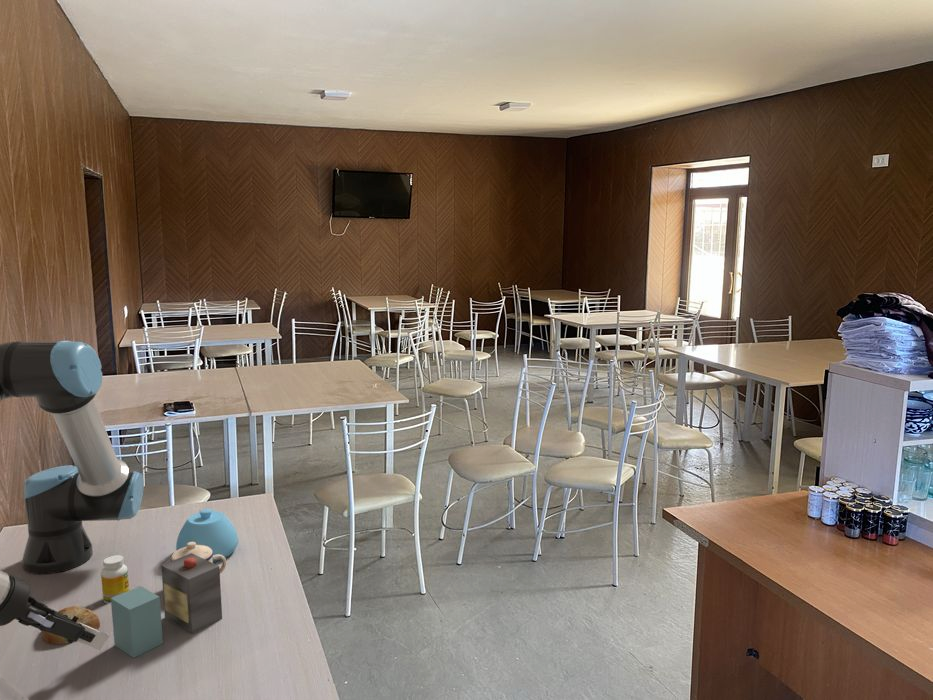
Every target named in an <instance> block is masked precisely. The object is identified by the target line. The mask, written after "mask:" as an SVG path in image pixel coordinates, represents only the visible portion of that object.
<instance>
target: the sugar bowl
mask: <svg viewBox="0 0 933 700" xmlns="http://www.w3.org/2000/svg"><path fill="white" fill-rule="evenodd" d="M189 542H195V543H196V545H204V546H208V547H209V548H211V549H212V551H213V555H217V554H220V555H223V556H224V557H225V559H226V558H228V557H230V556H231V555H232V553H234V551H235V550H236V549H237V548H238V546H239V545H238V544H239V537H238V533H237V529H236V528H235V526H234V524H233V523H232V522H231V520H230V519H229V518H228V516H227V515H225V514H224V513H223V512H221V511H217V510H212V509H211V508H203V509H201V510H199V512H196V513H193V514H192V515H190V516H189V517H188V518H187V519H186V520H185V523H184V524H183V526H182V527H181V529H180V530H179V533H178V536H177V540H176V545H175V548H176V549H175V551H177V550H179V549H181V548H183V547H186V546H187V543H189ZM227 556H228V557H227ZM221 560H222V559H220V558H218V559H214V560H212V561H213V563H216V562H219V561H221ZM222 561H223V560H222Z"/></svg>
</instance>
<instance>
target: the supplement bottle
mask: <svg viewBox="0 0 933 700" xmlns="http://www.w3.org/2000/svg"><path fill="white" fill-rule="evenodd" d="M124 561H125V560H124V556H122V555H119V554H118V555H112V556H108V557H106V558H105V559H104V560H103V569H102V570H101V573H100V578H101V588H102V589H101V590H102V599H103V602H104V603H105V604H107V605H108V604H111V598H112V597H115V596H117V595H120V594H122V593H125V592H127V591H129V590H130V584H129V570H128V566H127V565H126V564H124V563H125V562H124Z"/></svg>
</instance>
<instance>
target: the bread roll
mask: <svg viewBox="0 0 933 700" xmlns="http://www.w3.org/2000/svg"><path fill="white" fill-rule="evenodd" d="M57 612H59V613H61V614H63V615H67V616H68V617H69V618H70V619H72V618H73V617H74V616H77V617H78V618H79V619H78V620H77V622H76V623H78V622H80V623H82V624H84V625H87V626H89V627H91V628H94V629H96V630H98V631H99V629H100V627H101V622H100V619H99V617H98V614H97V613H96V612H94V611H93V610H90V609H89V608H85V607H83V606H75V605H73V606H67V607H65V608H62V609H60V610H58V611H57ZM41 636H42V638H43V641H44V643H46V644H47V645H59V646H60V645H68V644H70V643H69V642H68V641H67V640H68V639H67V638H64V637H61V636H58V635H55V634H52V633H49V632H45V631H42V634H41Z"/></svg>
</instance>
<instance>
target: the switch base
mask: <svg viewBox="0 0 933 700" xmlns="http://www.w3.org/2000/svg"><path fill="white" fill-rule="evenodd" d="M160 567H161V580H162V582H161V583H162V593H163V594H162V595H163V597H162V598H163V609H164V611H163V612H164V618H165V619H166V620H168V621H170V622H172V623H173V624H175V625H177V626H179V627H180V628H182V629H183V630H185V631H187V632H189V633H190V634H195V633H196V632H199V631H200V630H202V629H205V628H206V627H209V626H210V625H212V624H214V623H216V622H217V623H218V622H219V621H220V620H223V608H222V605H223V604H222V589H221V574H220V568H221V567H220V566H219V565H218V564H216V563H215V562H213V563H211V562H209V561H207V560H205V559H203V558H201V557H199V556H197V555H195V554H192V553H190V554H188V555H185V556H183V557H180V558H178V559H175V560H173V561H171V560H170V561H168V562H165V563H163V564H161V566H160Z"/></svg>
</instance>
